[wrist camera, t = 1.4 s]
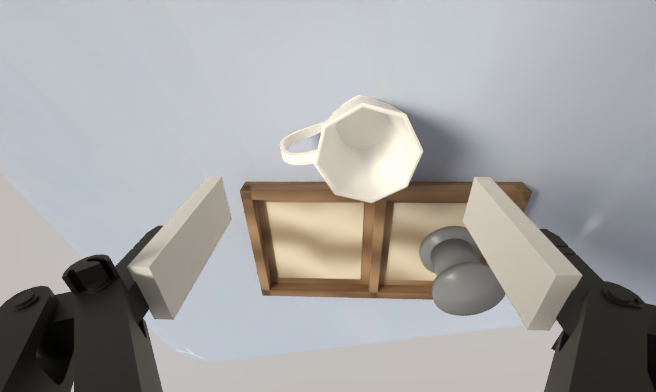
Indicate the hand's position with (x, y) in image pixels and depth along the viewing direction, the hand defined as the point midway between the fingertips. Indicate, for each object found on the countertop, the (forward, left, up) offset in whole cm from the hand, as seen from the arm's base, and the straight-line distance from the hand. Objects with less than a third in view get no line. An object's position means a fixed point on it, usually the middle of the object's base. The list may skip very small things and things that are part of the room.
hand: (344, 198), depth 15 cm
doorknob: (+14, +11, -11) cm, 21 cm away
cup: (0, 0, -12) cm, 12 cm away
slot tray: (+13, +3, -12) cm, 18 cm away
